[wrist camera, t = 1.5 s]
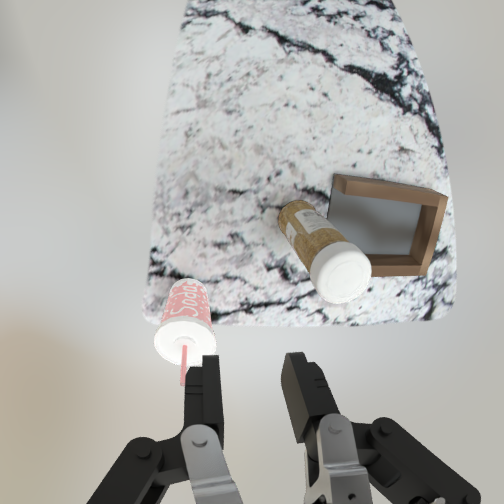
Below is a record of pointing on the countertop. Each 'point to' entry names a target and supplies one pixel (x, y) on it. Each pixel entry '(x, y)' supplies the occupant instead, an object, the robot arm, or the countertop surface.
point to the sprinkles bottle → (325, 253)
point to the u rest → (388, 222)
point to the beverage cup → (186, 326)
